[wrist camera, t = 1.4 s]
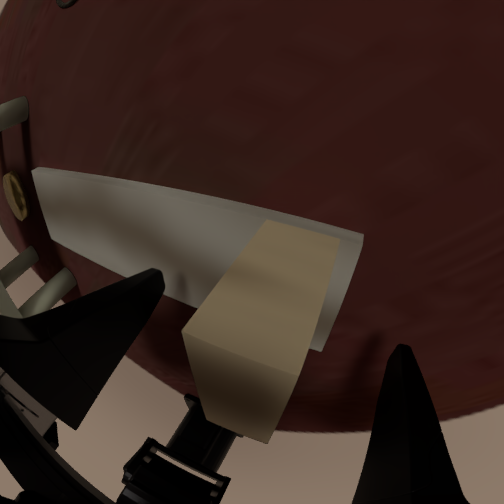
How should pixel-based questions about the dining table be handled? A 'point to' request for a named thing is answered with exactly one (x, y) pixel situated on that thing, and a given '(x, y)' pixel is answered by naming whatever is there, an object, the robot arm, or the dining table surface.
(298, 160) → the dining table surface
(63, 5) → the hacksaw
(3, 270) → the miniature white bench
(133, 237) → the scraper
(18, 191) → the token
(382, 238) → the dining table surface
